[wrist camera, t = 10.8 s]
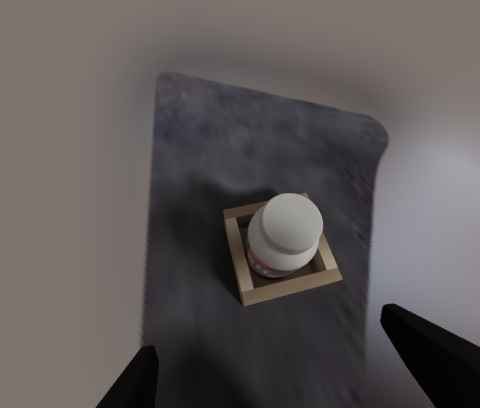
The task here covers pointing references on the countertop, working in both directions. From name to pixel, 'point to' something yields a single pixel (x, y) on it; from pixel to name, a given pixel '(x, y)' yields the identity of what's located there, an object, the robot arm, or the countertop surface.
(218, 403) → the countertop surface
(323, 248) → the birch socket stand
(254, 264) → the pill bottle
